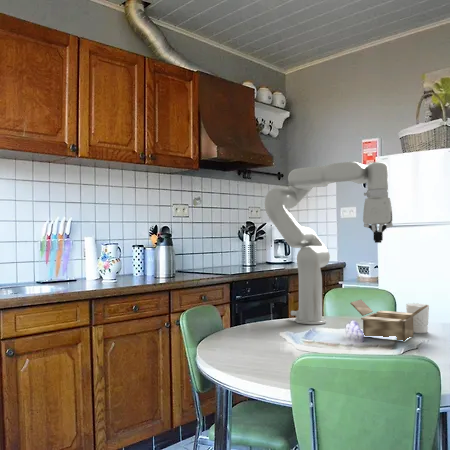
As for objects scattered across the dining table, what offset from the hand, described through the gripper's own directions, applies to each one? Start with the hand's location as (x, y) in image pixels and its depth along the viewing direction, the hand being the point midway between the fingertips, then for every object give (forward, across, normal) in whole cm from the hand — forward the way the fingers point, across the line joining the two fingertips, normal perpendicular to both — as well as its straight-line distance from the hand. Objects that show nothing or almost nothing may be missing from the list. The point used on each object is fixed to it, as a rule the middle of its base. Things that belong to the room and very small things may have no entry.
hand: (378, 242), depth 181 cm
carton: (+33, +7, -12) cm, 36 cm away
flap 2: (+26, +14, -12) cm, 32 cm away
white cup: (+33, +13, +5) cm, 36 cm away
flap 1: (+26, 0, -12) cm, 28 cm away
